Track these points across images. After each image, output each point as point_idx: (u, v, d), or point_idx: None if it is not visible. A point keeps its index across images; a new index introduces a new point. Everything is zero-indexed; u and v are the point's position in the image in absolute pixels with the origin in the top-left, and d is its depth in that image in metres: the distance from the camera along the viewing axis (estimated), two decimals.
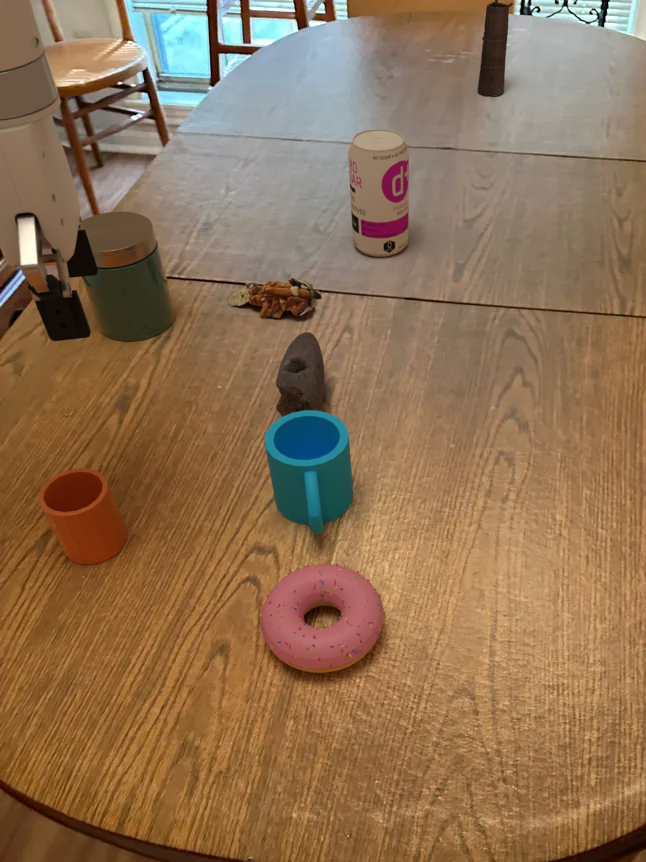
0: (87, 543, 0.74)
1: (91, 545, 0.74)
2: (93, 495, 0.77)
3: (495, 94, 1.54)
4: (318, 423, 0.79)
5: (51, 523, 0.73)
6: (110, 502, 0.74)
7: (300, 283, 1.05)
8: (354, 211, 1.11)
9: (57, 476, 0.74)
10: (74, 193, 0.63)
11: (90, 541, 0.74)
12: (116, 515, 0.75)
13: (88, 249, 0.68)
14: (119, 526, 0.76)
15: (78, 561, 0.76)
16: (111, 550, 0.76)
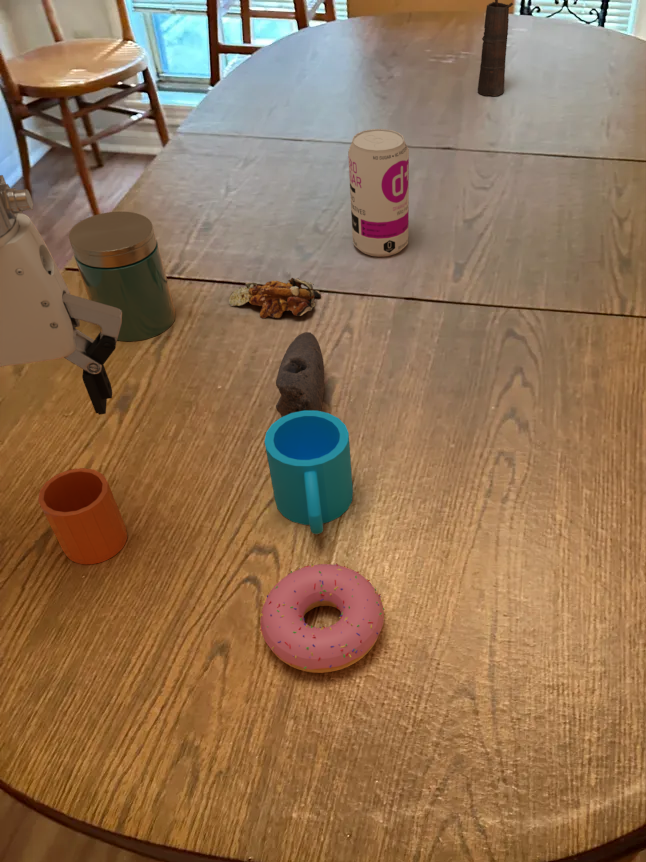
0: (87, 543, 0.74)
1: (91, 545, 0.74)
2: (93, 495, 0.77)
3: (495, 94, 1.54)
4: (318, 423, 0.79)
5: (51, 523, 0.73)
6: (110, 502, 0.74)
7: (300, 283, 1.05)
8: (354, 211, 1.11)
9: (57, 476, 0.74)
10: (33, 339, 0.59)
11: (90, 541, 0.74)
12: (116, 515, 0.75)
13: (89, 391, 0.64)
14: (119, 526, 0.76)
15: (78, 561, 0.76)
16: (111, 550, 0.76)
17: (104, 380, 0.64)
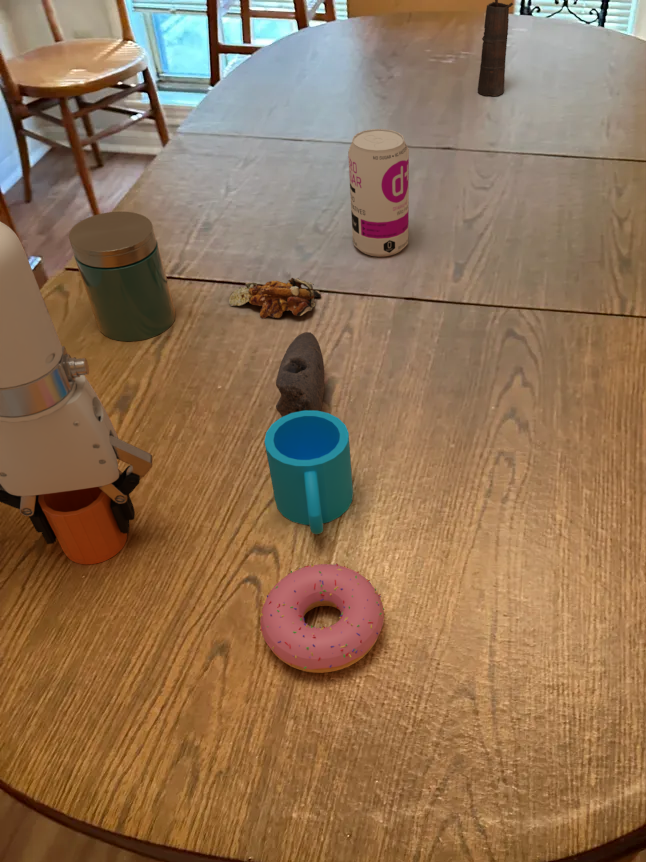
0: (87, 543, 0.74)
1: (91, 545, 0.74)
2: (93, 495, 0.77)
3: (495, 94, 1.54)
4: (318, 423, 0.79)
5: (51, 523, 0.73)
6: (110, 502, 0.74)
7: (300, 283, 1.05)
8: (354, 211, 1.11)
9: None
10: (83, 472, 0.69)
11: (90, 541, 0.74)
12: None
13: (116, 517, 0.74)
14: None
15: (78, 561, 0.76)
16: (111, 550, 0.76)
17: (128, 506, 0.75)
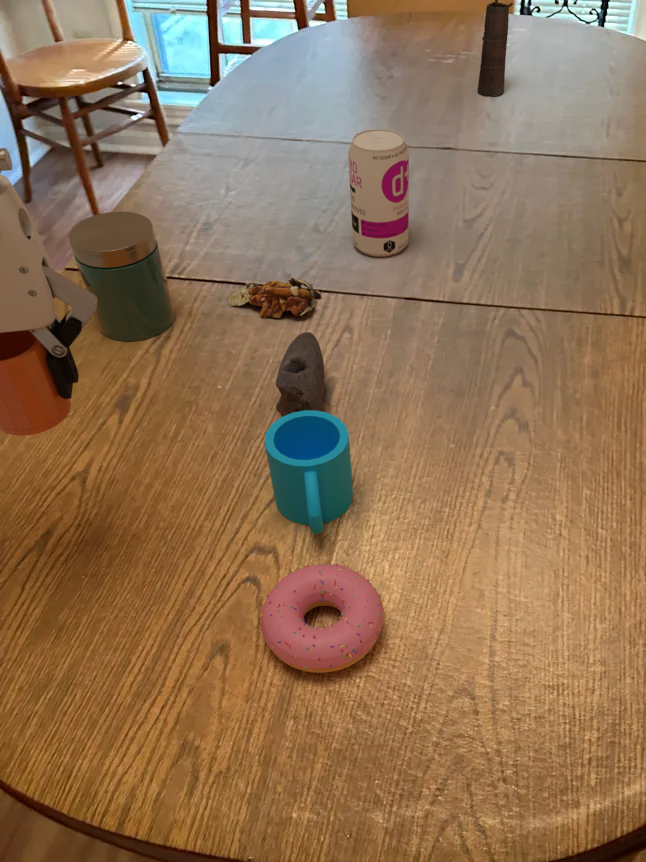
0: (19, 406, 0.62)
1: (24, 409, 0.62)
2: None
3: (495, 94, 1.54)
4: (318, 423, 0.79)
5: None
6: None
7: (300, 283, 1.05)
8: (354, 211, 1.11)
9: None
10: (10, 307, 0.56)
11: (22, 403, 0.62)
12: None
13: (54, 375, 0.62)
14: None
15: (9, 431, 0.64)
16: (49, 419, 0.64)
17: (70, 364, 0.62)
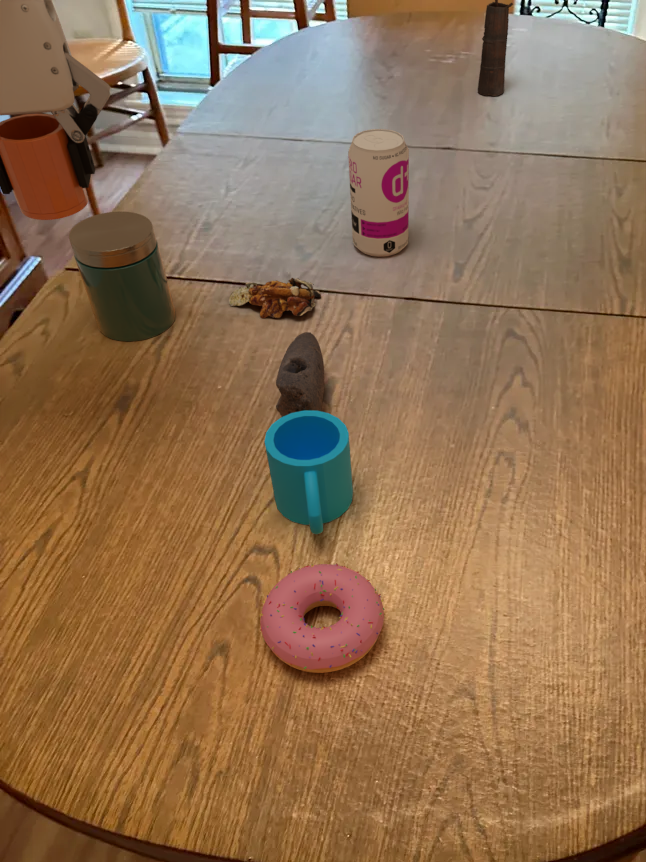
0: (43, 187, 0.71)
1: (47, 191, 0.71)
2: None
3: (495, 94, 1.54)
4: (318, 423, 0.79)
5: (4, 159, 0.69)
6: None
7: (300, 283, 1.05)
8: (354, 211, 1.11)
9: (13, 118, 0.71)
10: (35, 84, 0.65)
11: (46, 185, 0.70)
12: None
13: (73, 161, 0.71)
14: None
15: (35, 215, 0.73)
16: (69, 205, 0.73)
17: (87, 153, 0.71)
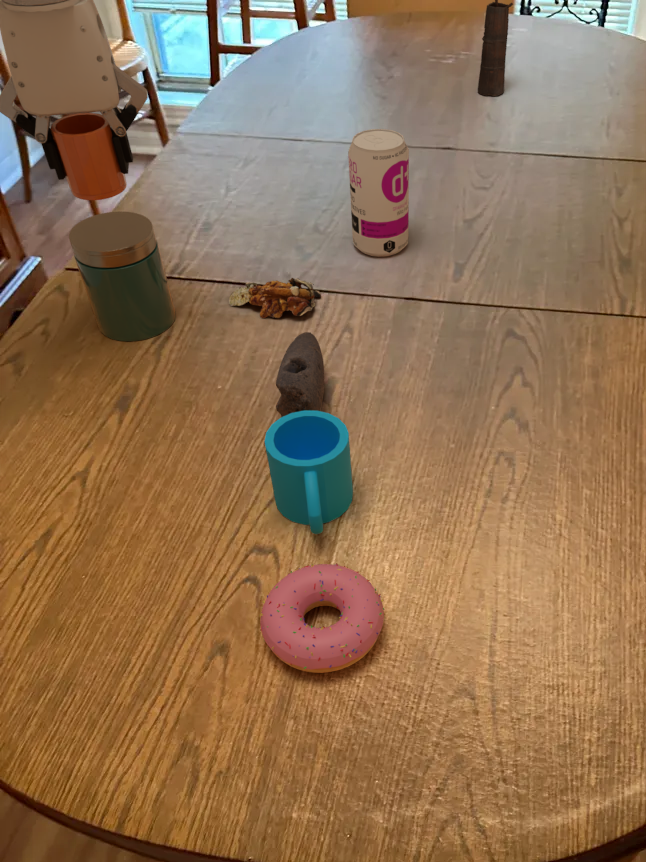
0: (92, 173, 0.86)
1: (95, 176, 0.87)
2: None
3: (495, 94, 1.54)
4: (318, 423, 0.79)
5: (61, 150, 0.85)
6: None
7: (300, 283, 1.05)
8: (354, 211, 1.11)
9: (66, 116, 0.87)
10: (89, 89, 0.81)
11: (95, 171, 0.86)
12: None
13: (116, 152, 0.87)
14: (119, 167, 0.89)
15: (84, 196, 0.88)
16: (113, 188, 0.89)
17: (127, 145, 0.87)
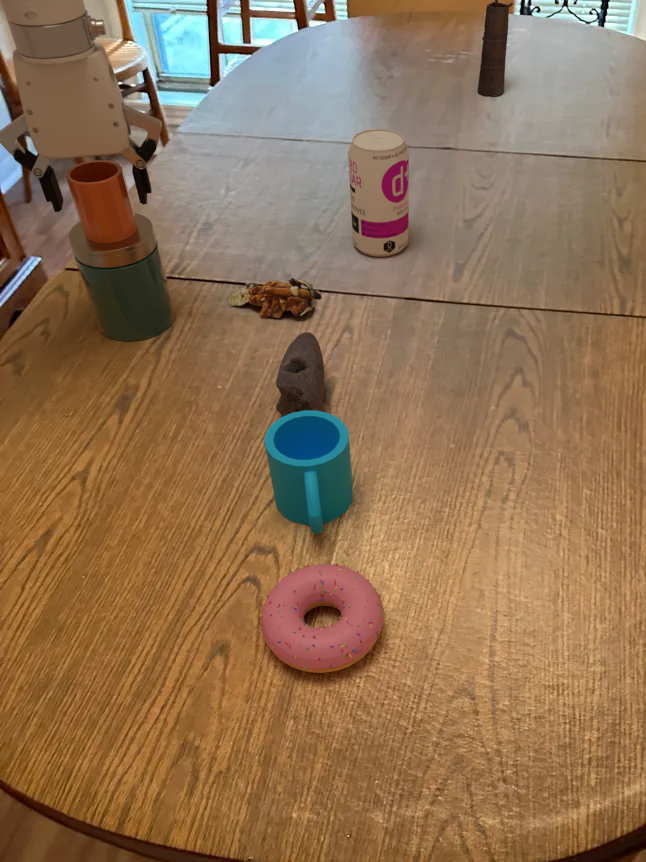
0: (105, 218, 0.90)
1: (108, 221, 0.91)
2: None
3: (495, 94, 1.54)
4: (318, 423, 0.79)
5: (76, 197, 0.89)
6: (124, 184, 0.90)
7: (300, 283, 1.05)
8: (354, 211, 1.11)
9: (80, 164, 0.90)
10: (101, 134, 0.84)
11: (107, 216, 0.90)
12: (129, 200, 0.92)
13: (136, 184, 0.90)
14: (131, 212, 0.92)
15: (97, 240, 0.92)
16: (124, 231, 0.92)
17: (147, 177, 0.90)
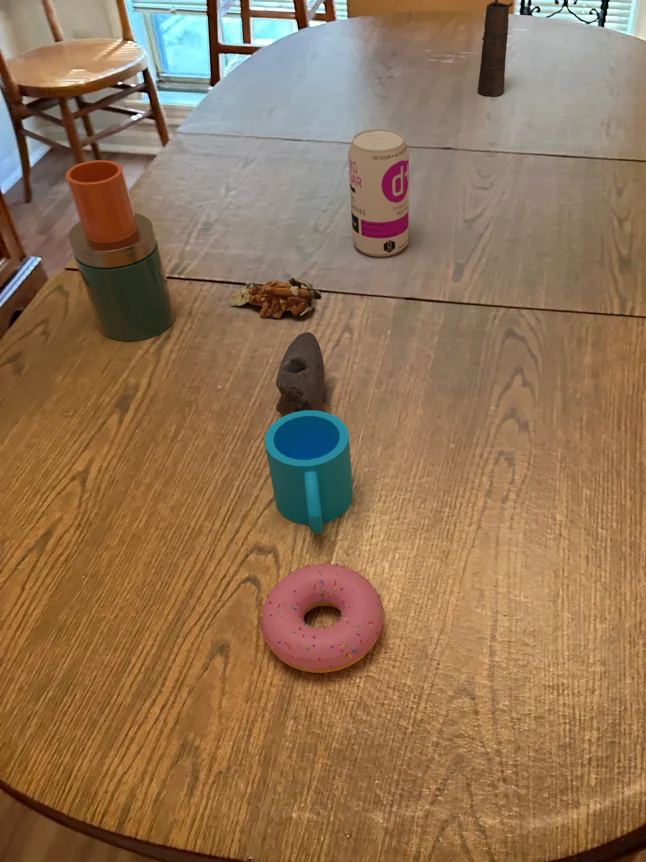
0: (105, 218, 0.90)
1: (108, 221, 0.91)
2: None
3: (495, 94, 1.54)
4: (318, 423, 0.79)
5: (76, 197, 0.89)
6: (124, 184, 0.90)
7: (300, 283, 1.05)
8: (354, 211, 1.11)
9: (80, 164, 0.90)
10: None
11: (107, 216, 0.90)
12: (129, 200, 0.92)
13: None
14: (131, 212, 0.92)
15: (97, 240, 0.92)
16: (124, 231, 0.92)
17: None
